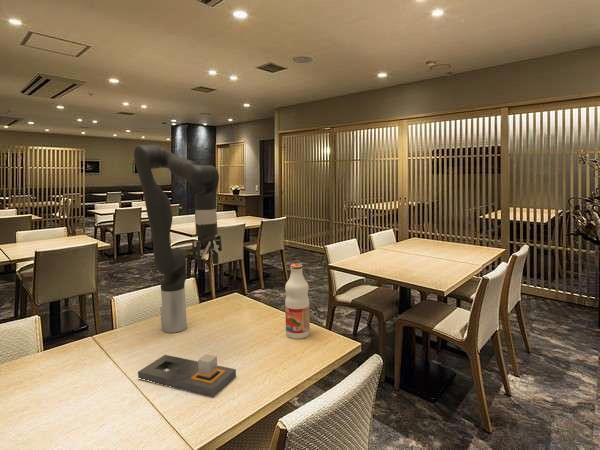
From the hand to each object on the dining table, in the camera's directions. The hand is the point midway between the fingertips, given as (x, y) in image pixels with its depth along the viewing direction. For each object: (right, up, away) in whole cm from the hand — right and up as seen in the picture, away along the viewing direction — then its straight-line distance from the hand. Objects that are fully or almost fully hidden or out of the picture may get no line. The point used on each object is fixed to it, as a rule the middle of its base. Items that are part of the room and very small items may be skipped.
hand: (208, 266), depth 138 cm
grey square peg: (+5, -33, -21) cm, 40 cm away
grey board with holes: (-2, -33, -18) cm, 38 cm away
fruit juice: (+32, -28, +13) cm, 45 cm away
